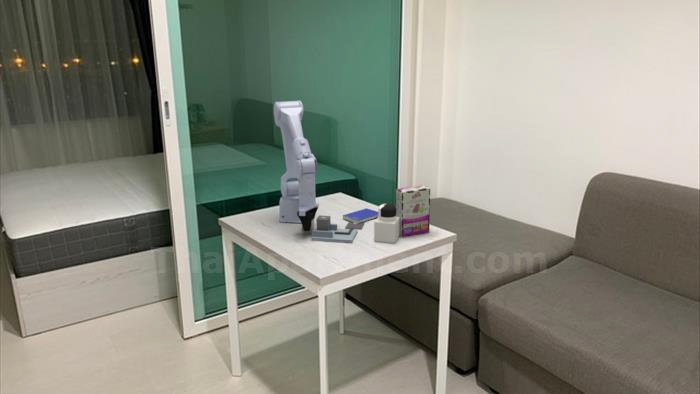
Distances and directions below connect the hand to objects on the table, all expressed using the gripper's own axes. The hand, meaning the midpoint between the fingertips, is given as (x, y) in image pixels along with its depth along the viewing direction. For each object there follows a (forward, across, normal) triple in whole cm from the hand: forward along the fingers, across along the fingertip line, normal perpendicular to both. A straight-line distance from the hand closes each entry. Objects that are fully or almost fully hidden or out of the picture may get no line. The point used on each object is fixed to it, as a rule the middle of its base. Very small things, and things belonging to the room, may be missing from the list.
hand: (308, 228), depth 187 cm
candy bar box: (+2, +6, -36) cm, 37 cm away
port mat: (+1, +9, -15) cm, 18 cm away
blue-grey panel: (+1, -1, -10) cm, 10 cm away
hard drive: (+2, +18, -16) cm, 24 cm away
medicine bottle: (+2, -1, -28) cm, 28 cm away
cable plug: (+2, 0, 0) cm, 2 cm away
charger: (0, -2, -6) cm, 6 cm away
